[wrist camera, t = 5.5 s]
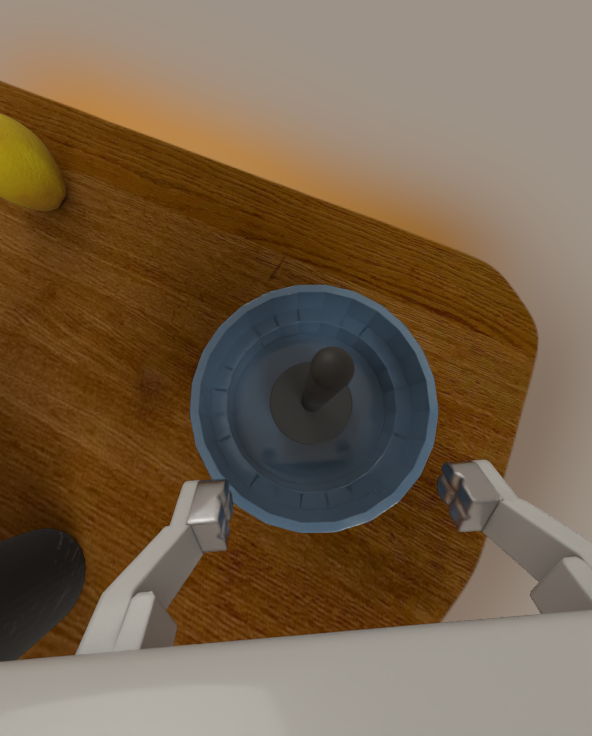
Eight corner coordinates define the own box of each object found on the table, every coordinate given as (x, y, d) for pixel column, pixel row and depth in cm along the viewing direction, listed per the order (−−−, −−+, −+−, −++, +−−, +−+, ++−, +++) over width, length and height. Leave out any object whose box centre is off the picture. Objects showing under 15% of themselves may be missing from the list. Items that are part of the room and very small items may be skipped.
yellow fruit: (64, 164, 30) (-16, 71, 22) (93, 204, 29) (20, 122, 21) (8, 195, 29) (-96, 109, 21) (36, 237, 28) (-62, 163, 20)
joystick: (353, 378, 25) (443, 300, 10) (337, 452, 23) (415, 487, 9) (282, 360, 25) (268, 259, 10) (263, 432, 23) (214, 434, 9)
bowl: (413, 342, 26) (452, 314, 20) (382, 528, 23) (417, 565, 16) (246, 302, 27) (232, 262, 21) (191, 476, 23) (153, 492, 17)
